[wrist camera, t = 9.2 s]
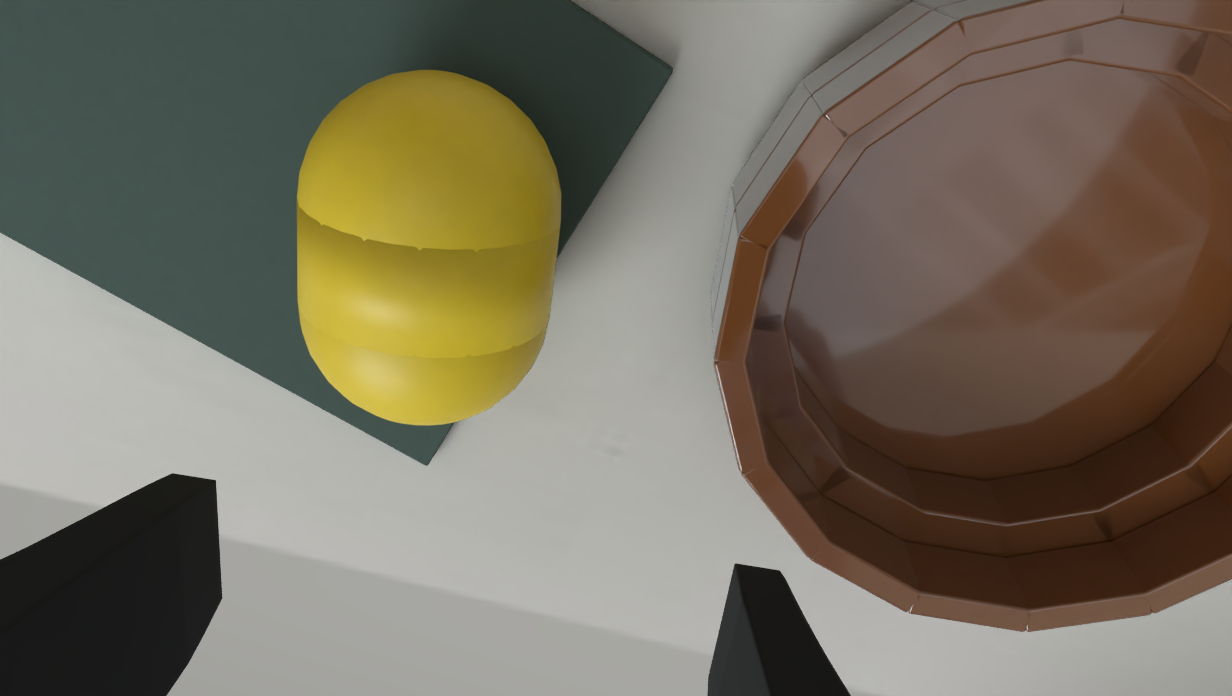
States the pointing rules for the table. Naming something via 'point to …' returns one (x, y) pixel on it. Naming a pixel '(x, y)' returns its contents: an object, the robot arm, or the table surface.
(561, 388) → the table surface
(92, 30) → the runner
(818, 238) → the bowl
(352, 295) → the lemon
